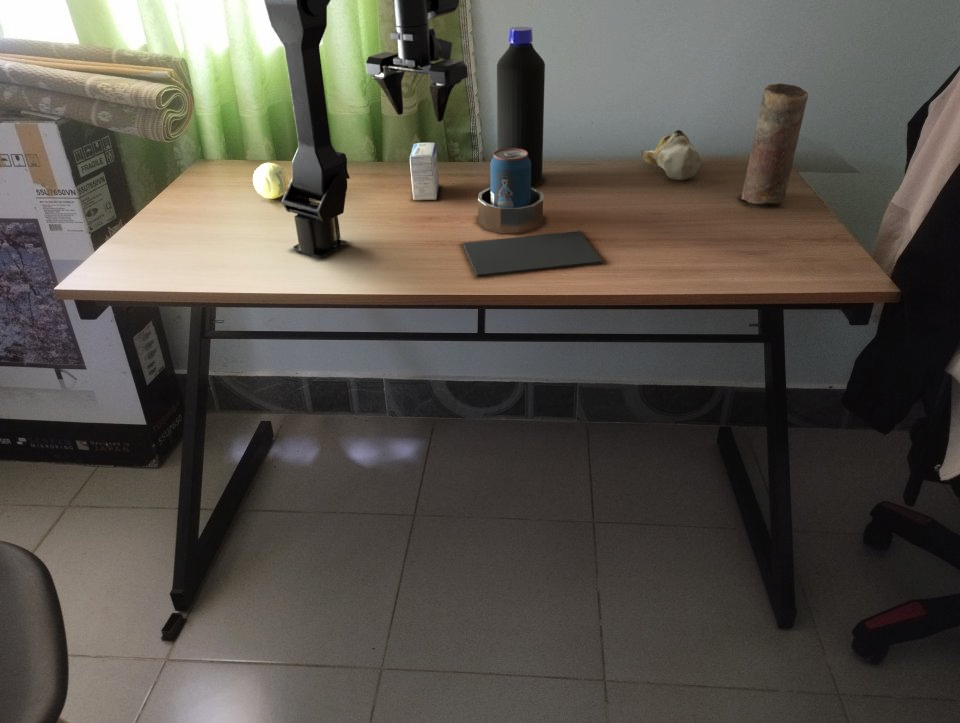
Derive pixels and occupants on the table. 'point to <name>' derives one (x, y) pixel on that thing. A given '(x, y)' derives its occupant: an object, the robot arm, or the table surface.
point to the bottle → (521, 99)
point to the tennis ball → (271, 180)
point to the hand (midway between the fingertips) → (419, 117)
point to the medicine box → (424, 171)
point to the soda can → (510, 178)
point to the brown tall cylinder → (774, 144)
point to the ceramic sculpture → (675, 156)
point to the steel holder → (510, 214)
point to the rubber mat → (530, 253)
